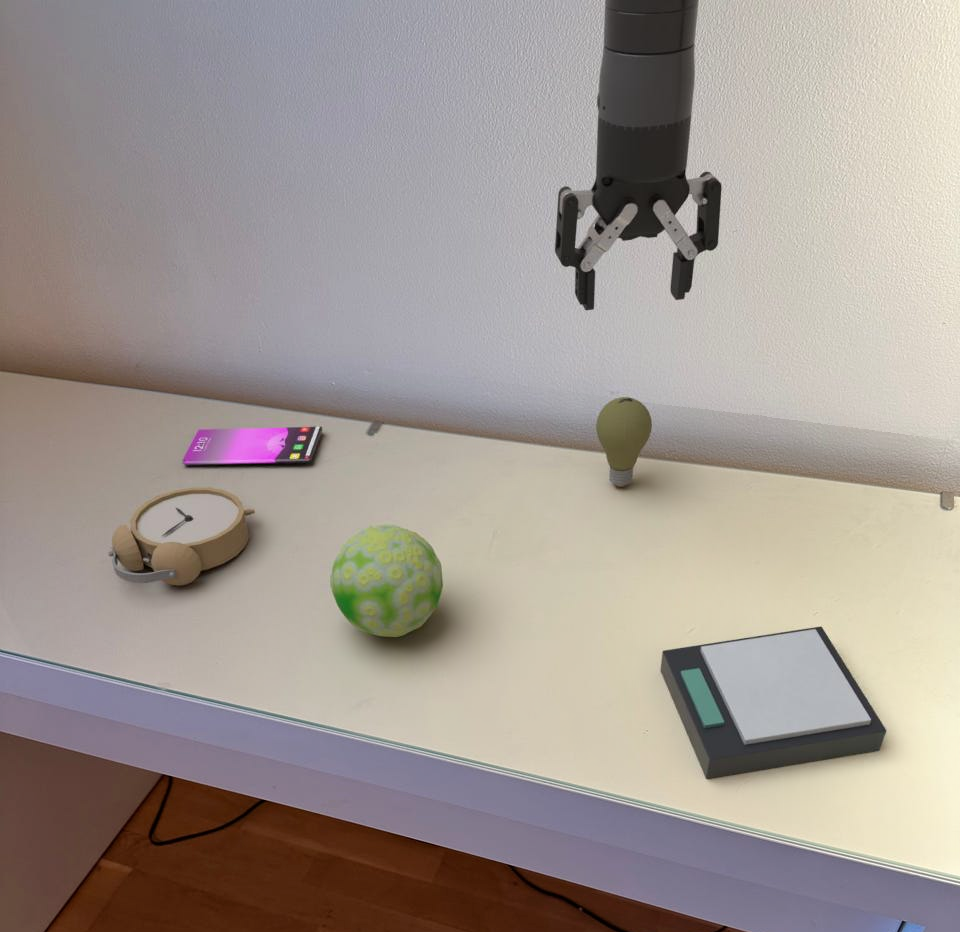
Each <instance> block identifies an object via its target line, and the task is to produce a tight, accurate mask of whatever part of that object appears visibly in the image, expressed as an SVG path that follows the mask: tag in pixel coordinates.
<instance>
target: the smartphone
mask: <svg viewBox="0 0 960 932" xmlns="http://www.w3.org/2000/svg"><path fill="white" fill-rule="evenodd" d="M322 432H323V426H289V427H288V426H287V427H250V428H249V427H246V428H243V427H242V428H208V429H207V428H206V429H205V428H203V429H201V428H200V429H198V430H197V432H196V433H195V435H194V437H193V439H192V441H191V443H190V445H189V446H188V448H187V451H185V455H184V456H183V458H182V460H181V461H182V464H183V466H220V465H221V466H224V465H225V466H226V465H233V466H234V465H277V464H278V465H280V464H281V465H282V464H310V463H311V462H312V460H313V457H314V455H315V452H316V449H317V447H318V443H319V441H320V438H321V434H322Z"/></svg>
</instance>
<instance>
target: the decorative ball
mask: <svg viewBox="0 0 960 932" xmlns="http://www.w3.org/2000/svg"><path fill="white" fill-rule="evenodd" d="M329 577H330V579H329V581H330V582H329V583H330V589H331V592H332V595H333V598H334V600H335V603H336V606H337V607H338V609H339V610H340V612H341V613H342V615H343V616H344V617H345V619H346V620H347V621H348V622H349V623H350V624H351V625H352V626H353V627H354V628H355V629H356V630H358V631H360V632H363V633H367V634H370V635H372V636H378V637H388V638H399V637H402V636H405V635H406V634H408V633H411V632H413V631H414V630H417V629H419V628H421V627H422V626H423V625H424V624H425V623H426V621H428V619H430V617H431V616H432V615H433V614H434V612H435V611H436V608H437V607H438V604H439V602H440V598H441V595H442V590H443V587H444V583H443V582H444V581H443V568H442V563H441V560H440V559H439V557H438V556H437V554H436V552H435V550H434V548H433V546H432V545H431V544H430V543H429V542H428V541H427V540H426V539H425V538H424V537H422V536H421V535H420V534H419V533H417V532H415V531H412V530H409V529H406V528H403V527H400V526H398V525H395V524H380V525H376V526H369V527H367V528H363V529H362V530H360V531H359V532H357V533H356V534H355V535H353V536H352V537H350V538H349V539H348V540H346V542H345V543H344V544H343V546H342V547H341V549H340V551H339V552H338V555H337V556H336V558H335V560H334V561H333V563H332V567H331V573H330V576H329Z"/></svg>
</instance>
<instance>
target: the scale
mask: <svg viewBox="0 0 960 932" xmlns="http://www.w3.org/2000/svg"><path fill="white" fill-rule="evenodd" d="M660 673H661V675H662V678H663V679H664V682H665V685H666V687H667V690H668V692H669V694H670V697H671V699H672V701H673V704H674V706H675V708H676V711H677V713H678V715H679V717H680V720H681V723H682V725H683V727H684V730H685V733H686V735H687V736H688V739H689V741H690V743H691V746H692V749H693V751H694V753H695V755H696V758H697V760H698V762H699V765H700V767H701V770H702V772H703V774H704V777H705V779H706V780H709V779H714V778H721V777H727V776H732V775H739V774H744V773H745V774H746V773H751V772H757V771H763V770H769V769H775V768H782V767H788V766H792V765H800V764H806V763H811V762H817V761H818V762H819V761H823V760H829V759H830V760H831V759H836V758H842V757H849V756H854V755H860V754H866V753H872V752H873V753H874V752H877V751H880V750H881V748H882V745H883V742H884V739H885V737H886V733H887V729H886V727H885V725H884V724H883V722H882V721H881V719H880V718H879V716H878V714H877V713H876V711H875V710H874V707H872V704H871V703H870V701H869V700H868V698H867V697H866V695H865V694H864V692H863V690H862V689H861V687H860V686H859V684H858V682H857V681H856V679H855V677H854V676H853V674H852V673H851V671H850V669H849V668H848V666H847V664H846V662H844V660H843V658H842V657H841V655H840V654H839V651H838V650H837V649H836V647H835V646H834V644H833V642H832V641H831V639H830V637H829V635H827V633H826V631H825V629H824V628H823V626H814V627H808V628H802V629H795V630H789V631H788V630H787V631H782V632H775V633H769V634H762V635H756V636H748V637H743V638H737V639H729V640H723V641H717V642H709V643H703V644H698V645H691V646H685V647H677V648H672V649H664V650H662V653H661V663H660Z"/></svg>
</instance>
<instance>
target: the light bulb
mask: <svg viewBox="0 0 960 932" xmlns="http://www.w3.org/2000/svg"><path fill="white" fill-rule="evenodd" d="M595 425H596V426H595V431H596V435H597V438H598V441H599V442H600V445H601V447H602V448H603V450H604V453H605V455H606V456H605V457H606V462H607V463H608V466H609V475H608V477H609V482H610V483H611V484H613V485H615V486H616V487H618V488H624V487H625V486H627V485H629V484H631V483H632V482H633V477H634V467H635V465H636V463H637V461H638V458H639V456H640V453H641V451H642V450H643V449H644V447H645V446H646V444H647V443H648V441H649V439H650V436H651V434H652V429H653V423H652V417H651V414H650V411H649V410H648V408H647V407H646V405H644V404H643V402H641V401H639V400H638V399H635V398H634V397H628V396H621V397H616V398H614V399H611V400H609V402H607V403H606V404H605V405H603V407H602V408H601V410H600V411H599V414H598V416H597V418H596V424H595Z"/></svg>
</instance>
